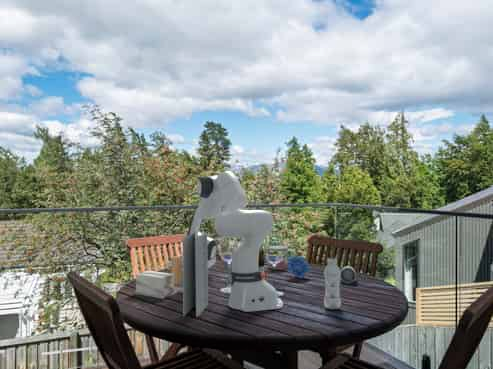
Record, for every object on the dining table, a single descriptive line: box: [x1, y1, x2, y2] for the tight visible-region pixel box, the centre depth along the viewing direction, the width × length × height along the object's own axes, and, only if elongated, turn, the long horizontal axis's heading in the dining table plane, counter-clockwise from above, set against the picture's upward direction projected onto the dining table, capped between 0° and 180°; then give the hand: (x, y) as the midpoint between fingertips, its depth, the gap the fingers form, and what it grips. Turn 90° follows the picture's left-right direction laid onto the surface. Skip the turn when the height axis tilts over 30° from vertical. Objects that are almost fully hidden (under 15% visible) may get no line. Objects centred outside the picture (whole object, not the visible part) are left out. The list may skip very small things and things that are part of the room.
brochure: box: [181, 232, 209, 318], centre depth 160 cm, size 14×6×30 cm, turn 168°
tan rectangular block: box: [170, 255, 183, 285], centre depth 198 cm, size 4×4×13 cm
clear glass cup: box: [267, 245, 289, 270], centre depth 239 cm, size 11×11×12 cm
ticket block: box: [134, 270, 183, 300], centre depth 191 cm, size 22×17×9 cm
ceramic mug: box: [340, 265, 357, 284], centre depth 204 cm, size 11×8×8 cm
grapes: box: [287, 254, 310, 279], centre depth 211 cm, size 12×7×12 cm, turn 85°
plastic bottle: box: [323, 257, 342, 310], centre depth 161 cm, size 6×7×20 cm
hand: (175, 269), depth 197 cm, fingers open, 8 cm apart
